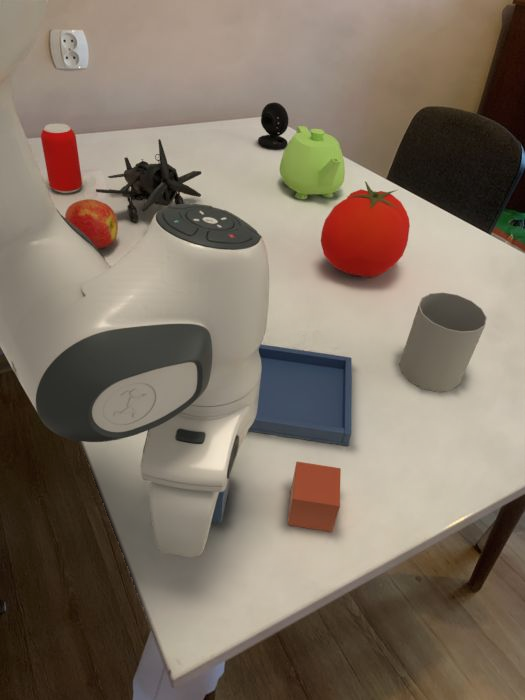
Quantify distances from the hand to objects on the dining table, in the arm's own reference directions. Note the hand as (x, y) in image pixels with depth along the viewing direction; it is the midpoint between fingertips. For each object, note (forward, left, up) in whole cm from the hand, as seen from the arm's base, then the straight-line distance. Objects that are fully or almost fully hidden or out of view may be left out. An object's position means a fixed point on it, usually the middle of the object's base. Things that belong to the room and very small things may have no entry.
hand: (204, 490), depth 54 cm
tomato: (+16, +50, -2) cm, 53 cm away
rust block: (+11, +1, -2) cm, 11 cm away
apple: (-29, +46, -2) cm, 54 cm away
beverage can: (-42, +66, -2) cm, 78 cm away
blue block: (0, 0, -2) cm, 2 cm away
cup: (+26, +26, -2) cm, 37 cm away
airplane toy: (-24, +62, -2) cm, 67 cm away
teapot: (+6, +81, -2) cm, 81 cm away
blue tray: (+8, +17, -2) cm, 19 cm away
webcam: (-5, +106, -2) cm, 106 cm away
